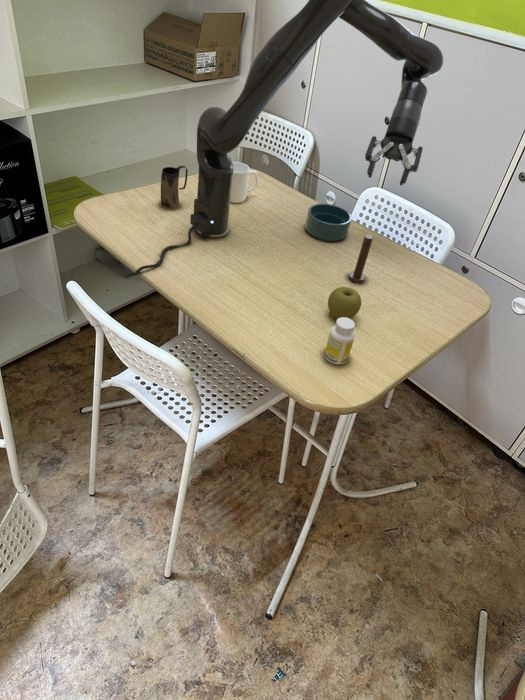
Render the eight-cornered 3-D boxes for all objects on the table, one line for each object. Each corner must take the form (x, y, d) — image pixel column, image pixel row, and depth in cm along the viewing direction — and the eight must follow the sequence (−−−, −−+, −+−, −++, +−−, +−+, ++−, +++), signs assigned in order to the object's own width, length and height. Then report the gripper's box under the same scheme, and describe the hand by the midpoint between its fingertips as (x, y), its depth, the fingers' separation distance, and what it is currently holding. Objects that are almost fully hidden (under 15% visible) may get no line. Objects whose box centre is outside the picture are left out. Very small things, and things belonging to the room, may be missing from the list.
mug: (163, 210, 157) (164, 172, 149) (158, 202, 160) (158, 164, 152) (188, 208, 160) (190, 170, 152) (182, 199, 163) (183, 162, 156)
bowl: (328, 247, 153) (332, 229, 149) (295, 228, 160) (299, 210, 156) (355, 235, 161) (360, 217, 157) (323, 217, 167) (327, 200, 163)
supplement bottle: (345, 349, 119) (356, 316, 113) (349, 366, 115) (360, 332, 108) (322, 347, 118) (331, 314, 112) (325, 364, 114) (335, 330, 108)
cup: (217, 192, 171) (219, 161, 164) (251, 190, 175) (254, 161, 168) (225, 203, 165) (228, 173, 159) (260, 201, 170) (264, 171, 163)
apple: (351, 329, 125) (358, 306, 120) (320, 317, 127) (326, 294, 122) (360, 313, 130) (367, 290, 126) (330, 302, 132) (336, 279, 127)
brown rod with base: (357, 285, 140) (370, 242, 131) (345, 277, 142) (357, 235, 134) (367, 280, 143) (380, 238, 134) (354, 272, 145) (367, 230, 136)
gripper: (378, 109, 137) (359, 168, 137) (432, 121, 134) (412, 181, 134) (377, 123, 144) (359, 179, 144) (429, 134, 141) (410, 191, 141)
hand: (385, 180), depth 139 cm, fingers open, 8 cm apart
